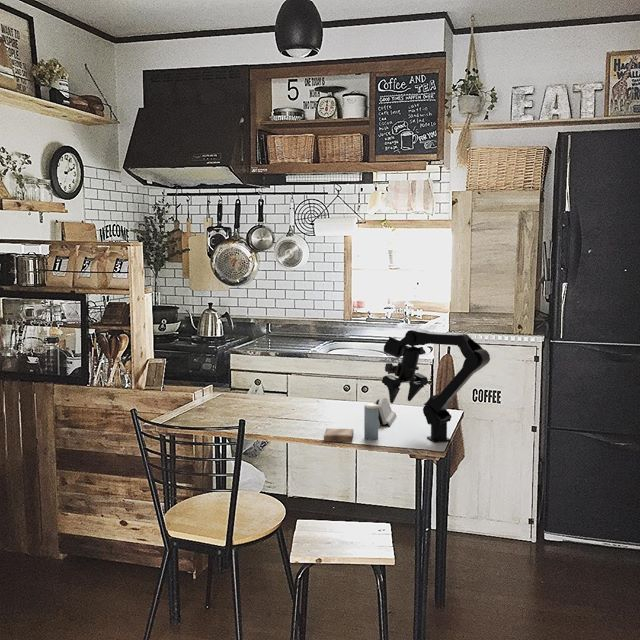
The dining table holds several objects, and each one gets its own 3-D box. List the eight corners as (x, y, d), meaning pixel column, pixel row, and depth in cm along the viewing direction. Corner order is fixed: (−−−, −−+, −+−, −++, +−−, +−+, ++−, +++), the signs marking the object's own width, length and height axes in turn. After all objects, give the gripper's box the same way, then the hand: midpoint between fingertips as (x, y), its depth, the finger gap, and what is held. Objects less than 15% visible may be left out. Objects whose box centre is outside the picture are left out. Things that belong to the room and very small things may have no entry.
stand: (353, 434, 284) (353, 428, 284) (352, 441, 274) (352, 435, 274) (326, 433, 285) (326, 428, 285) (324, 441, 275) (324, 435, 275)
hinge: (390, 426, 295) (381, 402, 295) (378, 430, 296) (370, 405, 296) (396, 416, 311) (388, 393, 311) (385, 419, 313) (377, 396, 312)
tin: (380, 439, 278) (380, 406, 276) (367, 440, 276) (367, 407, 275) (375, 435, 283) (375, 403, 281) (362, 436, 281) (362, 404, 280)
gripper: (411, 353, 292) (402, 391, 296) (376, 355, 280) (367, 395, 284) (432, 364, 284) (423, 403, 288) (397, 366, 272) (387, 407, 276)
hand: (400, 401), depth 284 cm, fingers open, 9 cm apart
